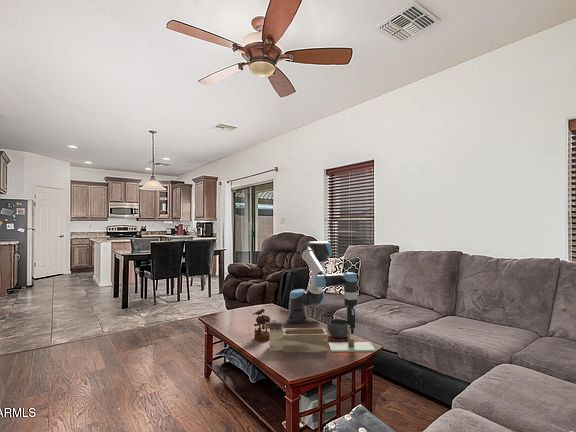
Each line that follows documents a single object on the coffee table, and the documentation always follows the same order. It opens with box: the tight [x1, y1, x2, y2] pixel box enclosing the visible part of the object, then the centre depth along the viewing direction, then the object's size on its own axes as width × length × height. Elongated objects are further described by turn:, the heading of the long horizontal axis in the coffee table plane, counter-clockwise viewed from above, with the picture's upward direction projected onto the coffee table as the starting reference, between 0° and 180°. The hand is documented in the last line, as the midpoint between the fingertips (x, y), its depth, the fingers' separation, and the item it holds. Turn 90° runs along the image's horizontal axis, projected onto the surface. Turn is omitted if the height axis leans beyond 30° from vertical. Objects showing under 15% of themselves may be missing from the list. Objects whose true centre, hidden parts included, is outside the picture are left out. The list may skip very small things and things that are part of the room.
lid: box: [328, 330, 377, 353], centre depth 192 cm, size 12×26×11 cm, turn 91°
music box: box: [252, 308, 271, 343], centre depth 209 cm, size 15×11×20 cm
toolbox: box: [269, 319, 329, 354], centre depth 192 cm, size 12×34×16 cm, turn 91°
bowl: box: [327, 318, 348, 339], centre depth 211 cm, size 15×15×10 cm
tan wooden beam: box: [265, 321, 283, 330], centre depth 192 cm, size 2×10×3 cm, turn 91°
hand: (351, 337), depth 193 cm, fingers open, 5 cm apart
